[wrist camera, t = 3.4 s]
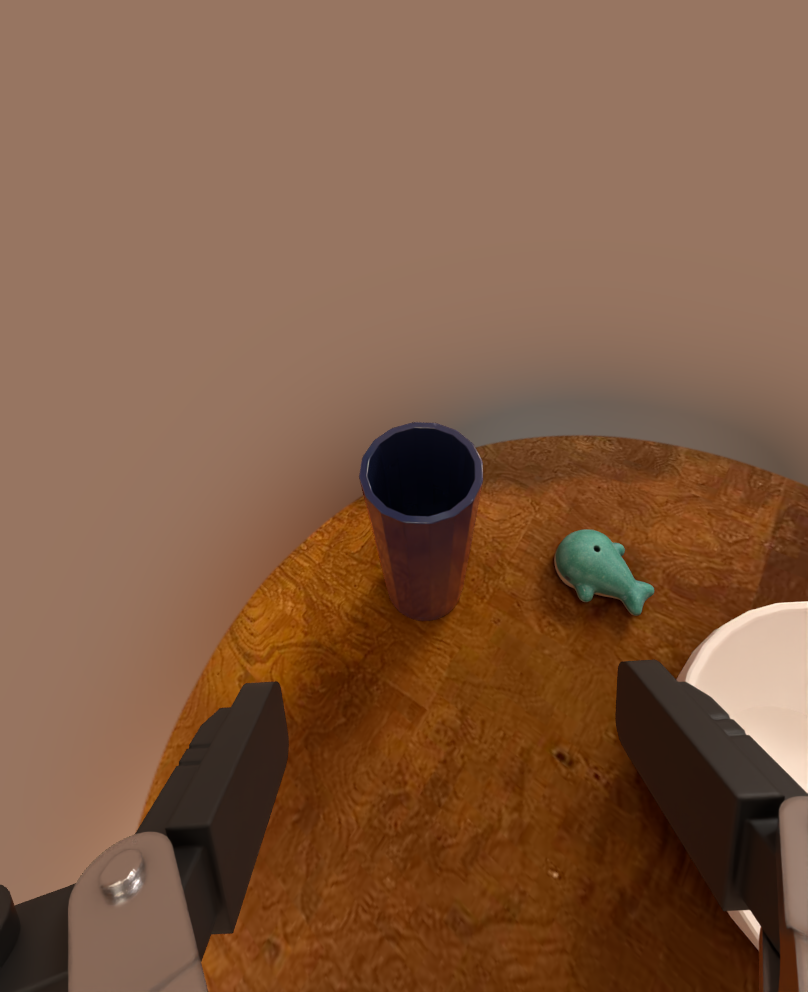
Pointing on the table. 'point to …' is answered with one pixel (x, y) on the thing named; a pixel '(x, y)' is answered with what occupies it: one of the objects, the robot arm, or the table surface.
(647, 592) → the whale figurine
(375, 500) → the cup
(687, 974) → the table surface
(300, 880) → the table surface
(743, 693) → the bowl
